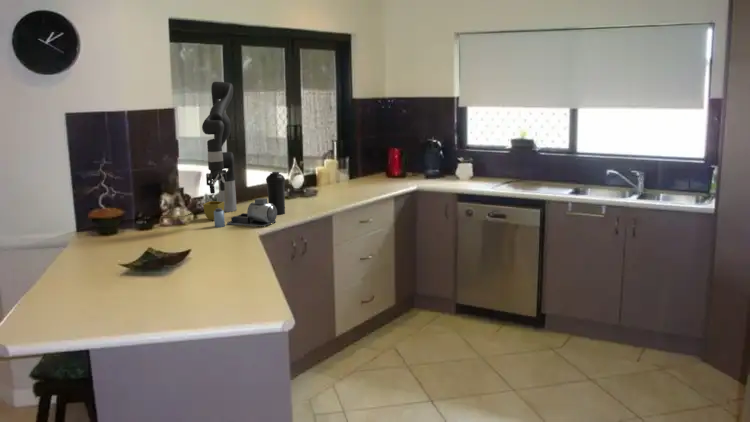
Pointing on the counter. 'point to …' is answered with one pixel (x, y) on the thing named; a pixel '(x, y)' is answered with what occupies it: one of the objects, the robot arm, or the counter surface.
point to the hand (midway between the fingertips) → (217, 192)
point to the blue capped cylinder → (219, 217)
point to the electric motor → (256, 214)
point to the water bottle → (276, 191)
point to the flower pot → (212, 208)
